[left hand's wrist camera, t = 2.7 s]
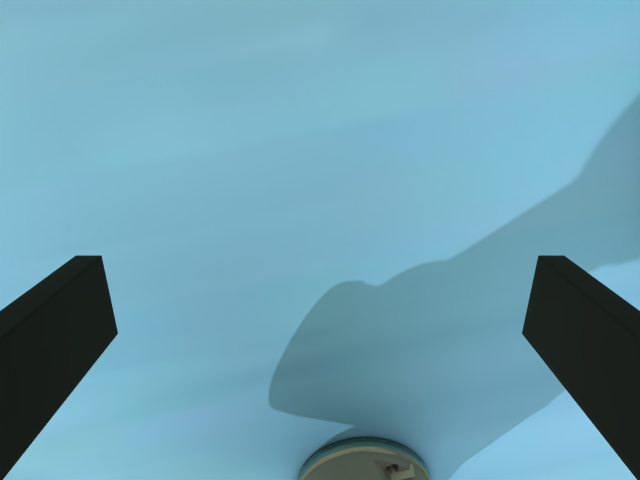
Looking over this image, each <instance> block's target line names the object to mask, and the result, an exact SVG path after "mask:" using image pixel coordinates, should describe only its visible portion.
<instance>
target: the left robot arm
mask: <svg viewBox="0 0 640 480" xmlns="http://www.w3.org/2000/svg"><path fill="white" fill-rule="evenodd" d="M117 334H118V332H117V327H116V322H115V317H114V313H113V308H112V303H111V298H110V294H109V289H108V284H107V279H106V275H105V270H104V265H103V261H102V256H75V257H73V258H72V259H71V260H69V261H68V262H67V263H65V264H64V265H63V266H61V267H60V268H58V269H57V270H56V271H54V272H53V273H52V274H50V275H49V276H48V277H46V278H45V279H43V280H42V281H41V282H39V283H38V284H37V285H35V286H34V287H33V288H31V289H30V290H28V291H27V292H26V293H24V294H23V295H22V296H20V297H19V298H17V299H16V300H15V301H13V302H12V303H11V304H9V305H8V306H7V307H5V308H4V309H2V310H1V311H0V480H3V479H4V477H5V476H6V475H7V474H8V472H9V471H10V470H11V469H12V467H13V466H14V465H15V463H16V462H17V461H18V460H19V458H20V457H21V456H22V455H23V453H24V452H25V451H26V450H27V448H28V447H29V446H30V444H31V443H32V442H33V441H34V439H35V438H36V437H37V436H38V434H39V433H40V432H41V430H42V429H43V428H44V427H45V425H46V424H47V423H48V422H49V420H50V419H51V418H52V417H53V415H54V414H55V413H56V411H57V410H58V409H59V408H60V406H61V405H62V404H63V403H64V401H65V400H66V399H67V397H68V396H69V395H70V394H71V392H72V391H73V390H74V389H75V387H76V386H77V385H78V384H79V382H80V381H81V380H82V378H83V377H84V376H85V375H86V373H87V372H88V371H89V370H90V368H91V367H92V366H93V364H94V363H95V362H96V361H97V359H98V358H99V357H100V356H101V354H102V353H103V352H104V350H105V349H106V348H107V347H108V345H109V344H110V343H111V342H112V340H113V339H114V338H115V337H116V335H117ZM522 334H523V335H524V337H525V338H526V339H527V340H528V342H529V343H530V344H531V345H532V347H533V348H534V349H535V351H536V352H537V353H538V354H539V356H540V357H541V358H542V359H543V361H544V362H545V363H546V364H547V366H548V367H549V368H550V370H551V371H552V372H553V373H554V375H555V376H556V377H557V378H558V380H559V381H560V382H561V384H562V385H563V386H564V387H565V389H566V390H567V391H568V392H569V394H570V395H571V396H572V397H573V399H574V400H575V401H576V403H577V404H578V405H579V406H580V408H581V409H582V410H583V411H584V413H585V414H586V415H587V417H588V418H589V419H590V420H591V422H592V423H593V424H594V425H595V427H596V428H597V429H598V430H599V432H600V433H601V434H602V436H603V437H604V438H605V439H606V441H607V442H608V443H609V444H610V446H611V447H612V448H613V450H614V451H615V452H616V453H617V455H618V456H619V457H620V458H621V460H622V461H623V462H624V463H625V465H626V466H627V467H628V469H629V470H630V471H631V472H632V474H633V475H634V476H635V477H636V479H637V480H640V311H639V310H638V309H636V308H635V307H633V306H632V305H631V304H629V303H628V302H627V301H625V300H624V299H623V298H621V297H620V296H618V295H617V294H616V293H614V292H613V291H612V290H610V289H609V288H607V287H606V286H605V285H603V284H602V283H601V282H599V281H598V280H597V279H595V278H594V277H592V276H591V275H590V274H588V273H587V272H586V271H584V270H583V269H582V268H580V267H579V266H577V265H576V264H575V263H573V262H572V261H571V260H569V259H568V258H567V257H565V256H538V261H537V265H536V270H535V275H534V279H533V284H532V289H531V294H530V298H529V303H528V308H527V313H526V317H525V322H524V327H523V332H522ZM297 480H431V478H430V474H429V472H428V469H427V467H426V465H425V464H424V463H423V461H422V460H421V459H420V458H419V457H418V456H417V455H416V454H415V453H414V452H412V451H411V450H409V449H408V448H406V447H404V446H402V445H400V444H397V443H394V442H391V441H388V440H383V439H376V438H356V439H349V440H344V441H340V442H337V443H334V444H332V445H329V446H327V447H325V448H323V449H322V450H320V451H318V452H317V453H315V454H314V455H313V456H312V457H311V458H310V459H309V460H308V461H307V462H306V463H305V464H304V466H303V467H302V469H301V470H300V473H299V475H298V478H297Z"/></svg>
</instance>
